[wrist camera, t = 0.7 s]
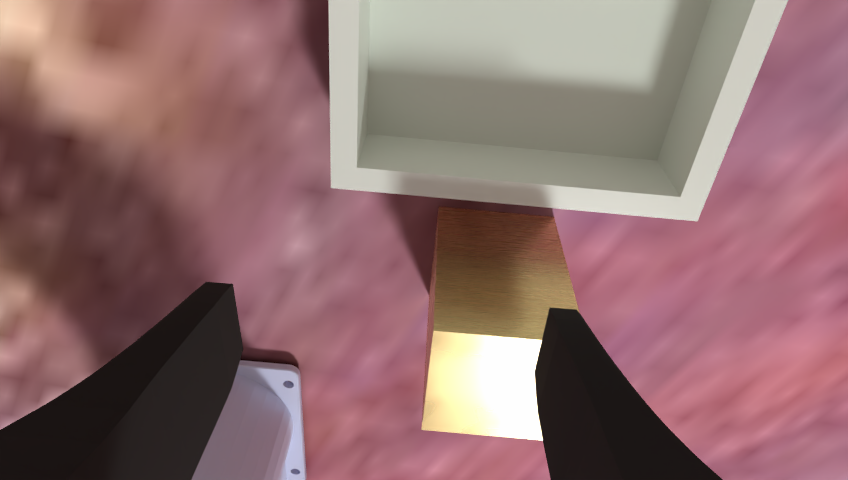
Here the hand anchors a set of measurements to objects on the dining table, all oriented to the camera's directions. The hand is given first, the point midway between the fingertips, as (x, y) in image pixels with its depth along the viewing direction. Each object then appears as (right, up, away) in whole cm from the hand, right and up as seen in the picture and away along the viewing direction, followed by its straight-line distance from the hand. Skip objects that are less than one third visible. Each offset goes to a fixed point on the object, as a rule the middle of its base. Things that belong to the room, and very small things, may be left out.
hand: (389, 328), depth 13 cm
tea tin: (+3, +1, +10) cm, 11 cm away
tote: (+4, +9, +5) cm, 11 cm away
